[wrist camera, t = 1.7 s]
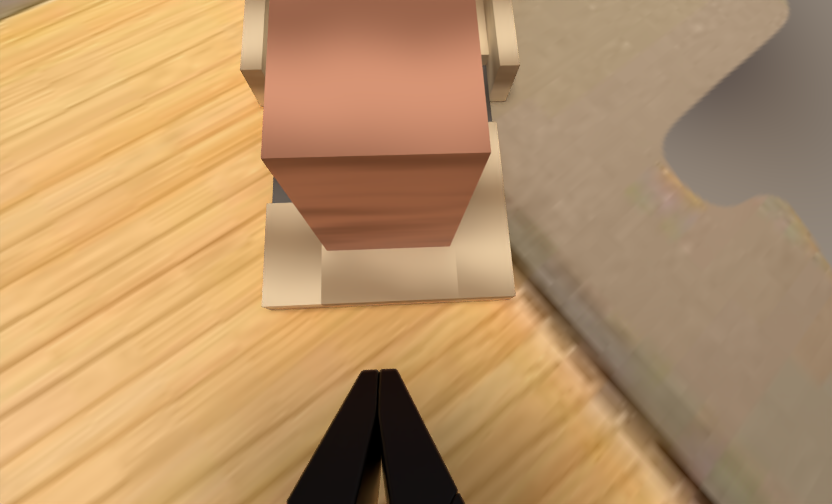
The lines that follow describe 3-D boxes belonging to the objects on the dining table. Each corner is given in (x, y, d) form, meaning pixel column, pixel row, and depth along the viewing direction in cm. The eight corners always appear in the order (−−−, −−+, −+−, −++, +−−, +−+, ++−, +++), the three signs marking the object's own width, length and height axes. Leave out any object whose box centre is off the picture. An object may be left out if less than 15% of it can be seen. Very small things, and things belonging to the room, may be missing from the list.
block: (449, 246, 23) (491, 152, 12) (326, 250, 23) (261, 158, 12) (441, 122, 25) (470, -50, 14) (327, 125, 25) (272, -49, 14)
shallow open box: (528, 298, 24) (549, 289, 21) (249, 310, 23) (223, 302, 20) (489, -35, 30) (500, -84, 27) (268, -34, 29) (251, -84, 26)
